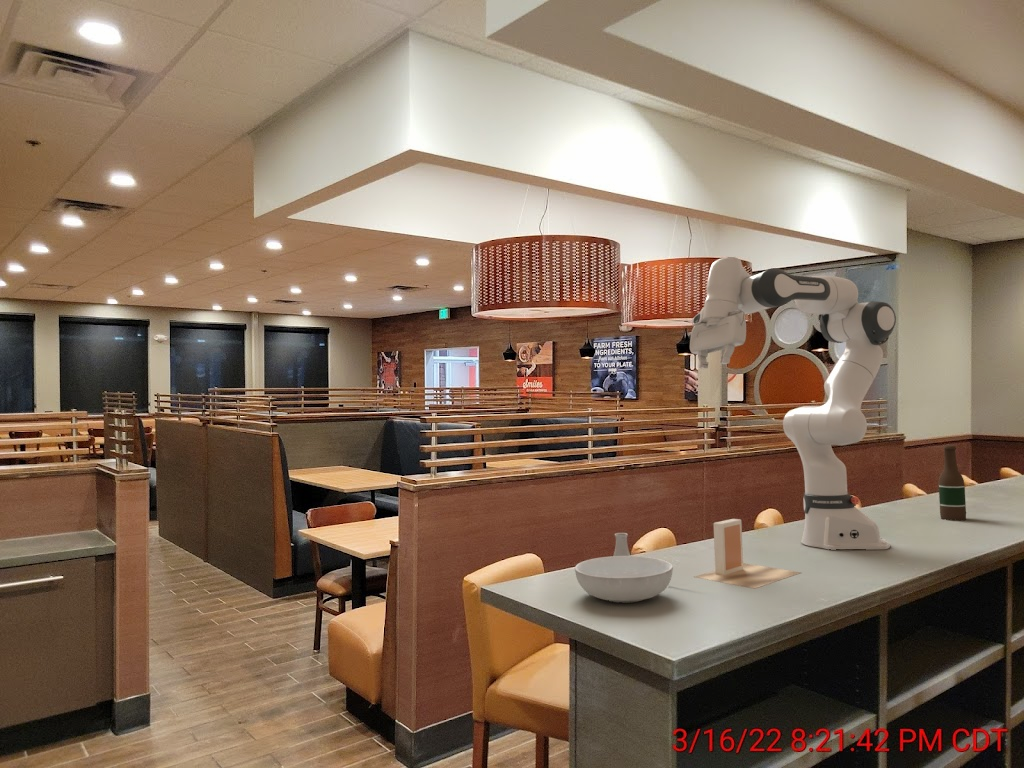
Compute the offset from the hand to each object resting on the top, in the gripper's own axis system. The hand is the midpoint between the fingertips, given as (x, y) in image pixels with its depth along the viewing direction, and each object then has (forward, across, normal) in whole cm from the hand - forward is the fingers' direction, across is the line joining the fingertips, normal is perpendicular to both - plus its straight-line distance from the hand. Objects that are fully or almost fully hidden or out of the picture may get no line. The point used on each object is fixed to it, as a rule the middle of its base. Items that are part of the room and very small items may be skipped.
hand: (713, 366), depth 194 cm
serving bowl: (+60, -17, +26) cm, 68 cm away
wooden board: (+52, -14, -7) cm, 54 cm away
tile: (+51, -10, -5) cm, 52 cm away
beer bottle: (+24, +19, -111) cm, 115 cm away
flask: (+57, +1, +18) cm, 59 cm away
